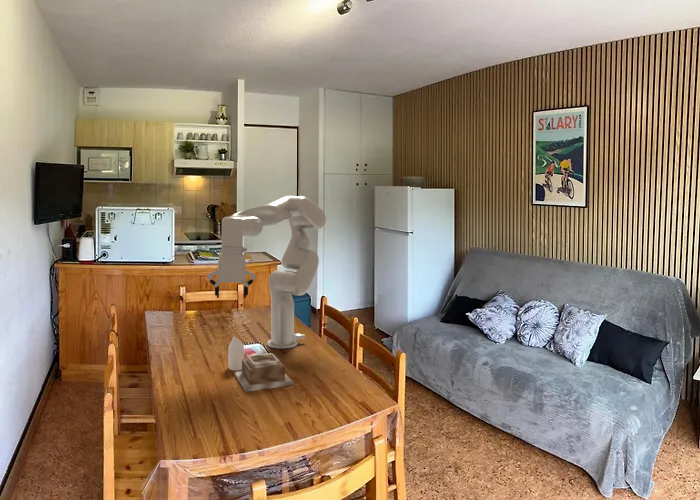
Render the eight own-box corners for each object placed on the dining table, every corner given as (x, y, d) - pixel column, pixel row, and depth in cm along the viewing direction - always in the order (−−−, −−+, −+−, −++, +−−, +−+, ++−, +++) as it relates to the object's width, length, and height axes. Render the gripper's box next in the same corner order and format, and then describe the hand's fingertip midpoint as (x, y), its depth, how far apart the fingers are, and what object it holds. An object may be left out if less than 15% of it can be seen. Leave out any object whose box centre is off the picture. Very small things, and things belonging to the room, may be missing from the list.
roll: (247, 335, 193) (238, 339, 188) (247, 367, 195) (238, 371, 190) (233, 333, 196) (224, 337, 191) (234, 364, 197) (224, 369, 192)
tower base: (278, 369, 193) (278, 348, 192) (292, 384, 179) (292, 362, 178) (234, 375, 186) (234, 354, 185) (245, 391, 172) (245, 369, 171)
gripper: (255, 250, 197) (255, 295, 199) (207, 249, 194) (207, 295, 195) (256, 252, 190) (255, 299, 192) (206, 251, 186) (206, 299, 188)
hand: (231, 297), depth 194 cm, fingers open, 9 cm apart
